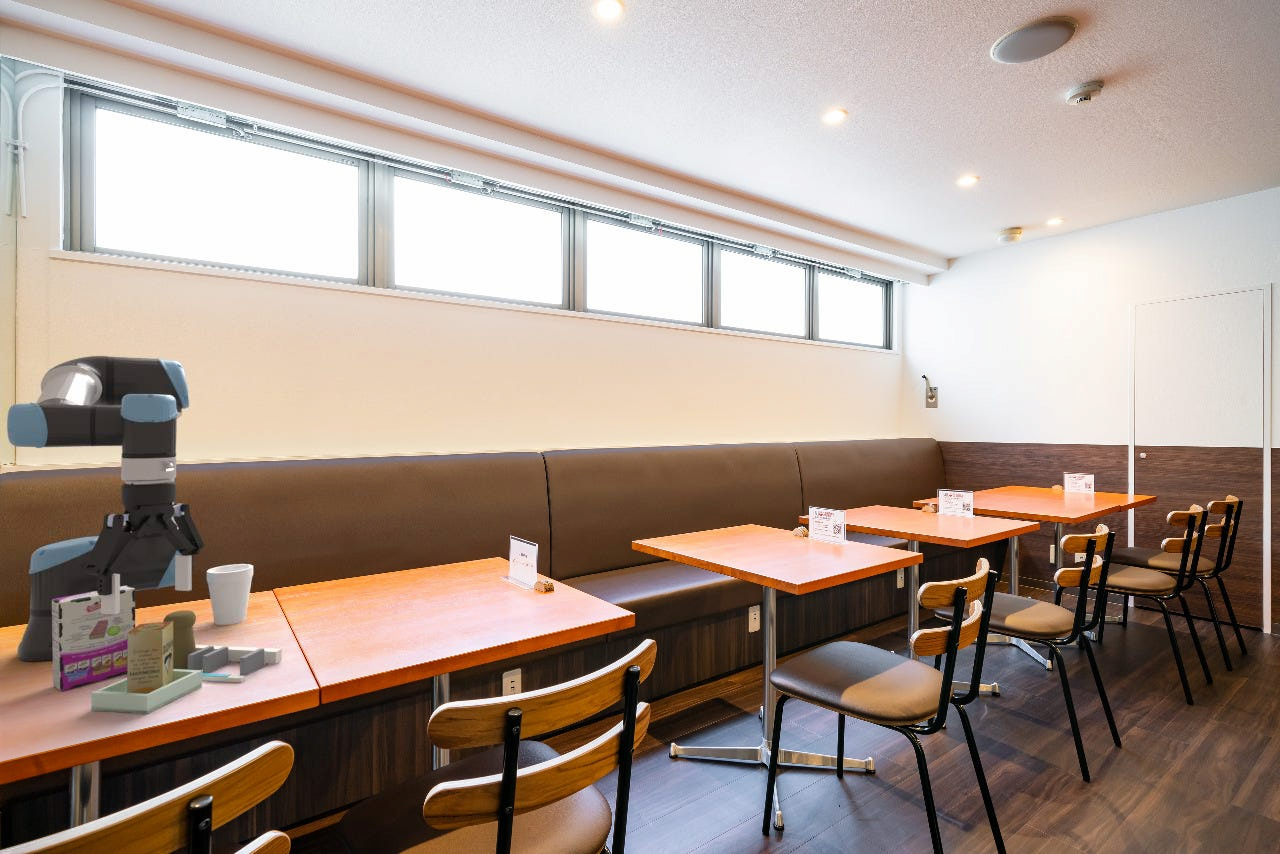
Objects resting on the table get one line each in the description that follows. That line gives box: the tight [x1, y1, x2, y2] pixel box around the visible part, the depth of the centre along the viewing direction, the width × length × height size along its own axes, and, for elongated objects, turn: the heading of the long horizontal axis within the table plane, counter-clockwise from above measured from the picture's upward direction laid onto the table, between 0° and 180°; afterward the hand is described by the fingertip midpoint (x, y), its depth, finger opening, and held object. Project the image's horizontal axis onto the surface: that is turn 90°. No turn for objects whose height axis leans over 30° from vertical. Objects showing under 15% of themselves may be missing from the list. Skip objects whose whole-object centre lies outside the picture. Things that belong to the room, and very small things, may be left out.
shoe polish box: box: [126, 621, 173, 694], centre depth 105 cm, size 5×5×12 cm
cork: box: [162, 609, 197, 670], centre depth 118 cm, size 6×6×11 cm
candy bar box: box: [52, 586, 136, 693], centre depth 113 cm, size 11×5×16 cm, turn 148°
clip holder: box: [188, 644, 283, 683], centre depth 118 cm, size 24×10×4 cm, turn 83°
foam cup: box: [206, 563, 254, 626], centre depth 147 cm, size 10×9×13 cm
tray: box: [90, 669, 203, 715], centre depth 105 cm, size 11×11×3 cm
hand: (149, 601), depth 105 cm, fingers open, 13 cm apart
